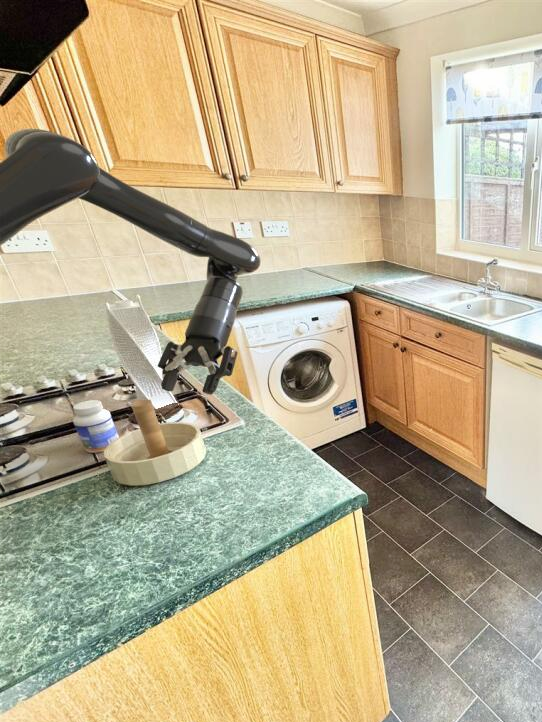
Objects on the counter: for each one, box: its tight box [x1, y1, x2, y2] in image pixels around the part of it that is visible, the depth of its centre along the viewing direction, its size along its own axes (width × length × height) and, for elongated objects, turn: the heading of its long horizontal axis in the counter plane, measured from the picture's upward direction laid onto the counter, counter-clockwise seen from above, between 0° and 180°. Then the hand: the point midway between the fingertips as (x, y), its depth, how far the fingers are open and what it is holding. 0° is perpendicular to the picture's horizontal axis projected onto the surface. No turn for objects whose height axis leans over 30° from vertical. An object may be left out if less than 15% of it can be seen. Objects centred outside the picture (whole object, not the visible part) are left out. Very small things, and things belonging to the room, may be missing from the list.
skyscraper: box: [105, 293, 178, 409], centre depth 94 cm, size 8×8×28 cm
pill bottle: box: [72, 399, 120, 454], centre depth 84 cm, size 5×5×10 cm
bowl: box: [103, 421, 207, 486], centre depth 80 cm, size 14×14×6 cm
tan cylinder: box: [130, 399, 173, 459], centre depth 79 cm, size 4×4×13 cm
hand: (187, 391), depth 86 cm, fingers open, 8 cm apart
